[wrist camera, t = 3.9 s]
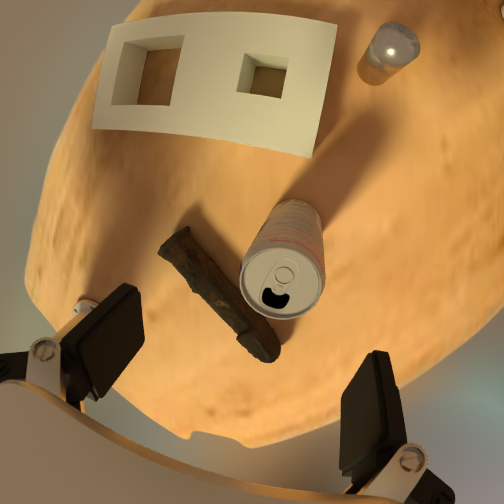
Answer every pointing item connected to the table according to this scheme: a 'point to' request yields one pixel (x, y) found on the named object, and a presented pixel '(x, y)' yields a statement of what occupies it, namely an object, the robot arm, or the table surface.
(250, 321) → the hand tool
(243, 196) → the table surface
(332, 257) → the table surface
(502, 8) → the drinking glass
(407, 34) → the grey metal peg
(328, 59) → the socket block
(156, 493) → the robot arm
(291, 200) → the energy drink
